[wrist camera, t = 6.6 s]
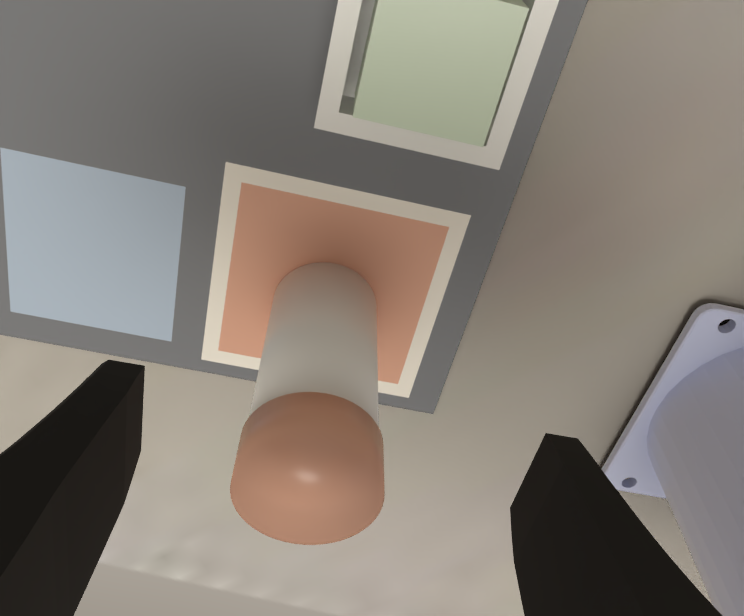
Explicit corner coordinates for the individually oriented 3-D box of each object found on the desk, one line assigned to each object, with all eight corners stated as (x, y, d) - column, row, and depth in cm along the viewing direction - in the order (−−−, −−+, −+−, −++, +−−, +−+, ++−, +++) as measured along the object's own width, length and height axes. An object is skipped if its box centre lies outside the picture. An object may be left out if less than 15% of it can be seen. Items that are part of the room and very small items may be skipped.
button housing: (551, -45, 16) (570, -32, 15) (488, 140, 19) (499, 169, 17) (358, -97, 16) (355, -89, 14) (319, 101, 18) (313, 127, 17)
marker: (391, 271, 21) (401, 453, 15) (366, 359, 23) (365, 553, 17) (278, 249, 21) (240, 427, 14) (262, 340, 23) (222, 533, 16)
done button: (514, -8, 16) (529, 8, 14) (474, 120, 17) (483, 146, 16) (384, -42, 15) (384, -29, 14) (354, 92, 17) (352, 116, 16)
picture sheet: (600, -69, 17) (611, -65, 16) (431, 394, 25) (433, 413, 24) (-50, -247, 15) (-75, -253, 14) (-6, 313, 23) (-21, 330, 23)
